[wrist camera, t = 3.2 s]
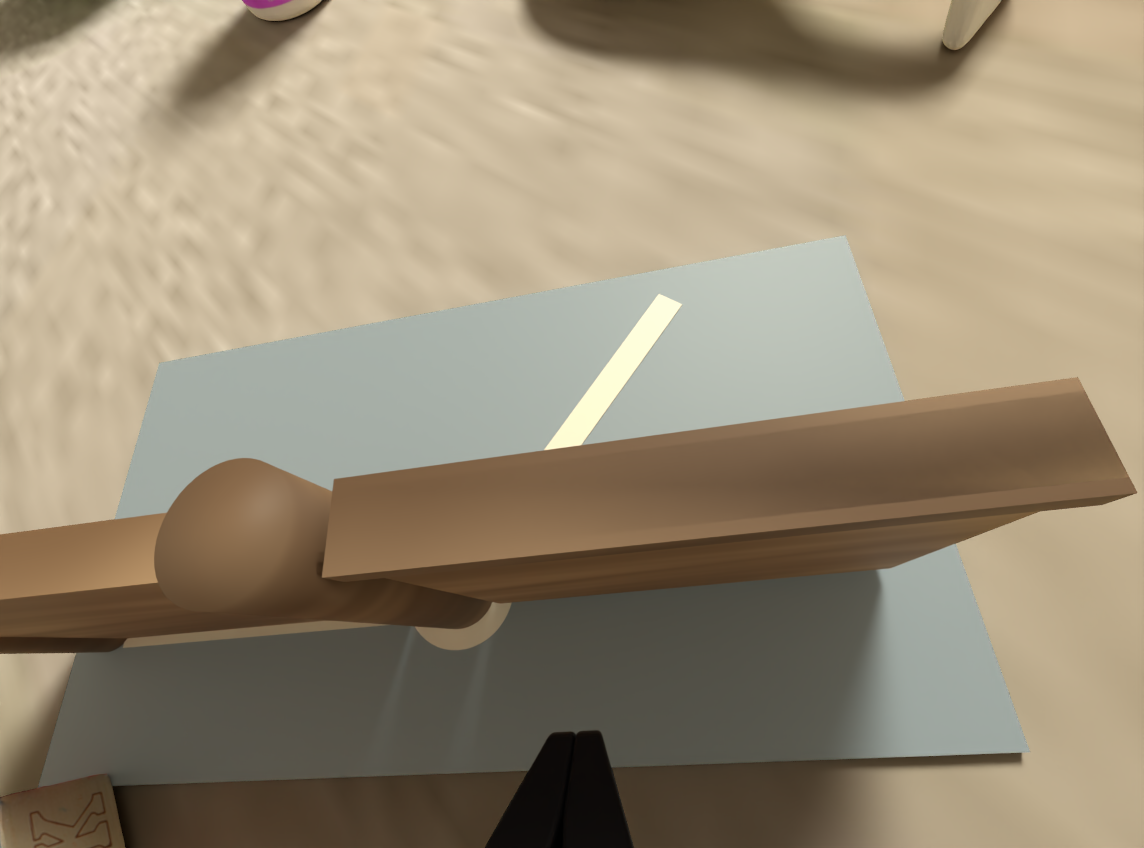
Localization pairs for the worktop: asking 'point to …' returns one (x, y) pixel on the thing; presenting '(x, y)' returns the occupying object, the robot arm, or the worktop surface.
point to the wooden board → (729, 498)
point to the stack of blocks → (62, 816)
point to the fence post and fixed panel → (199, 571)
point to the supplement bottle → (279, 8)
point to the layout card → (553, 626)
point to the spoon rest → (965, 20)
